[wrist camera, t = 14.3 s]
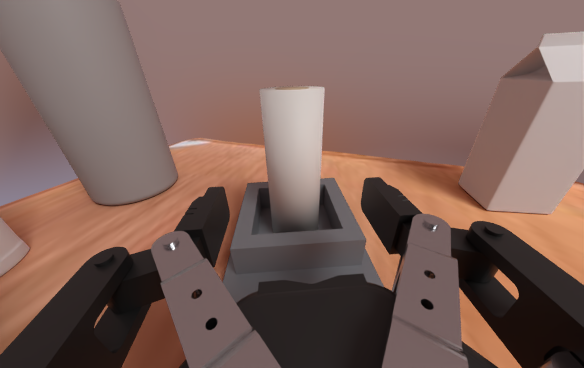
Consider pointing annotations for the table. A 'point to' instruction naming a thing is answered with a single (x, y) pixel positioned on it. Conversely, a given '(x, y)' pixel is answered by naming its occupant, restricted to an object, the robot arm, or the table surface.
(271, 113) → the paper roll
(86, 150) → the cylinder vase
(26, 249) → the jar
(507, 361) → the table surface
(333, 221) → the roll holder
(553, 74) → the milk carton
